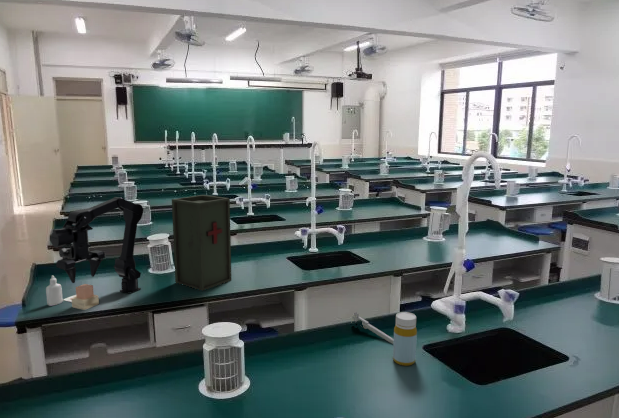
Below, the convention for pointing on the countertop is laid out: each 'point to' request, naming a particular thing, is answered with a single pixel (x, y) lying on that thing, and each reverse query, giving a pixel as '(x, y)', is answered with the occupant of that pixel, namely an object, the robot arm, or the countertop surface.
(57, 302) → the eye dropper bottle
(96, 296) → the beech base block
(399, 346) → the bottle
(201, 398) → the countertop surface
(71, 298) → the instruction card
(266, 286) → the countertop surface
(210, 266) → the first aid box
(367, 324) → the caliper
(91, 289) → the terracotta brick
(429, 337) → the countertop surface
